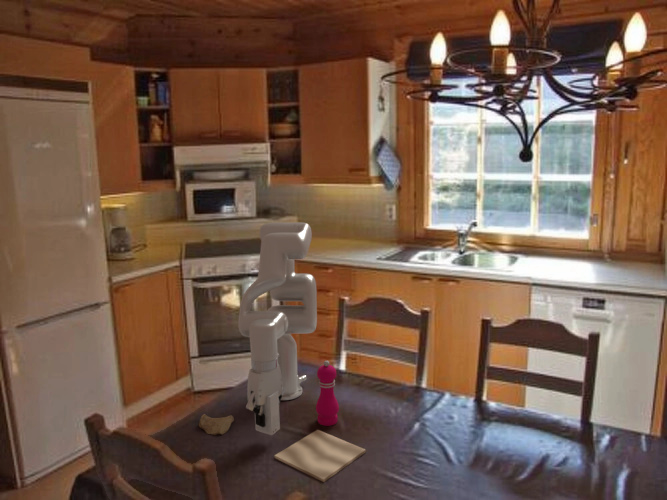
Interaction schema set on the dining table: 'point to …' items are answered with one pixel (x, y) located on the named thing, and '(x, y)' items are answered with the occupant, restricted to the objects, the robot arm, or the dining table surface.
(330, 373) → the pepper mill
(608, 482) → the dining table surface
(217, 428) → the pottery shard
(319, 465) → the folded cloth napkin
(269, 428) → the skincare box
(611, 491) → the dining table surface
